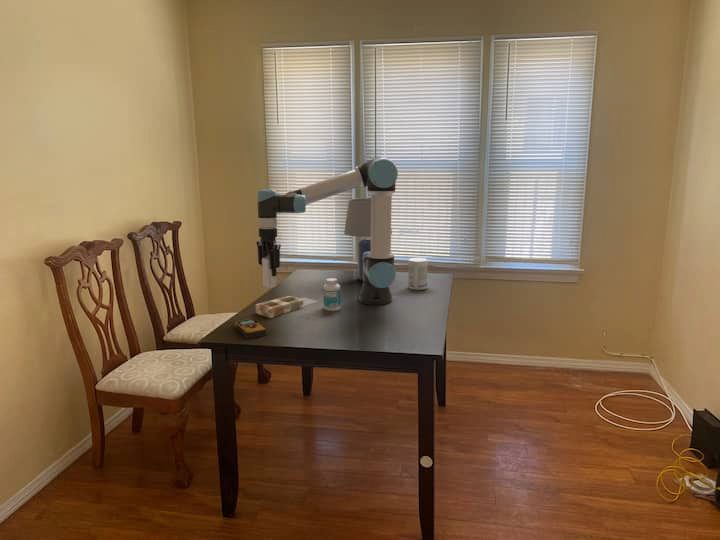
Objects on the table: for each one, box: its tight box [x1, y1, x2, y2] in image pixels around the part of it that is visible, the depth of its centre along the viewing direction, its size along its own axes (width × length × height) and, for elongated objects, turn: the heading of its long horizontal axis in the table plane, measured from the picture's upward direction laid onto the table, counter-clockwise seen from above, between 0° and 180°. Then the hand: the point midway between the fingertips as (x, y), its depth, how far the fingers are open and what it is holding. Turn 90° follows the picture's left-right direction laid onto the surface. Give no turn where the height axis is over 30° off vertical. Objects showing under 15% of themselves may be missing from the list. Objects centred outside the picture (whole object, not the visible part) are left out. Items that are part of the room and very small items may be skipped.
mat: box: [300, 297, 319, 307], centre depth 237 cm, size 10×10×1 cm
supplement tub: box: [407, 257, 428, 291], centre depth 260 cm, size 10×10×15 cm
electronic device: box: [233, 317, 267, 339], centre depth 200 cm, size 8×16×3 cm, turn 30°
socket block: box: [255, 295, 304, 319], centre depth 224 cm, size 10×18×4 cm, turn 137°
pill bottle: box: [322, 277, 342, 312], centre depth 226 cm, size 8×7×14 cm
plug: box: [261, 255, 277, 289], centre depth 218 cm, size 4×4×13 cm
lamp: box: [343, 197, 393, 282], centre depth 274 cm, size 25×25×43 cm
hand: (269, 282), depth 219 cm, fingers closed on plug, 4 cm apart
